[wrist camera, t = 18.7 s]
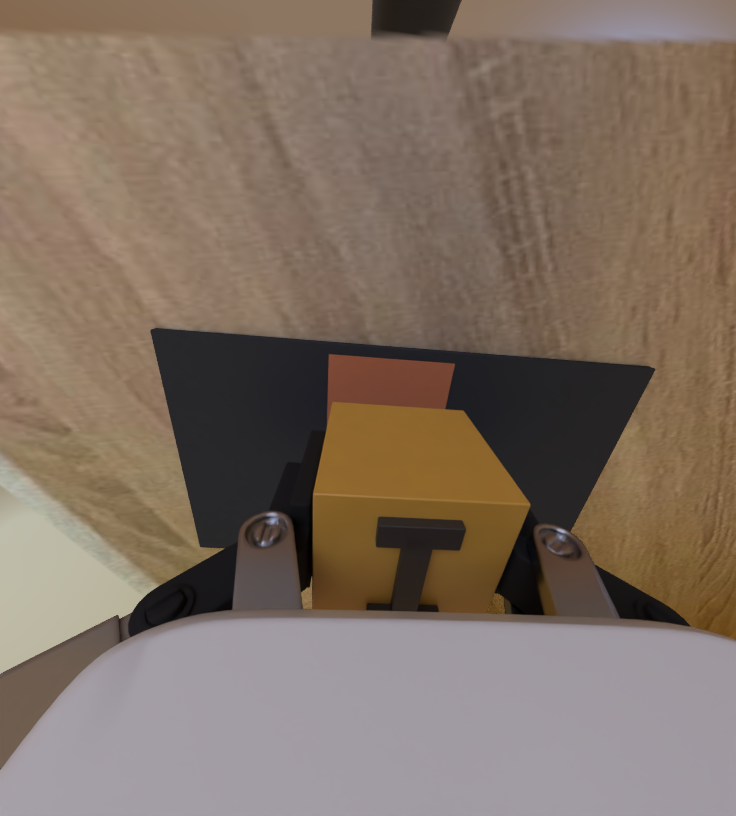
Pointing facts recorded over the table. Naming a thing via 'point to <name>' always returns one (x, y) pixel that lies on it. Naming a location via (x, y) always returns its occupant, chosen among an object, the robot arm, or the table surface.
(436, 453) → the letter i
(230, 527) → the word mat
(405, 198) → the table surface
